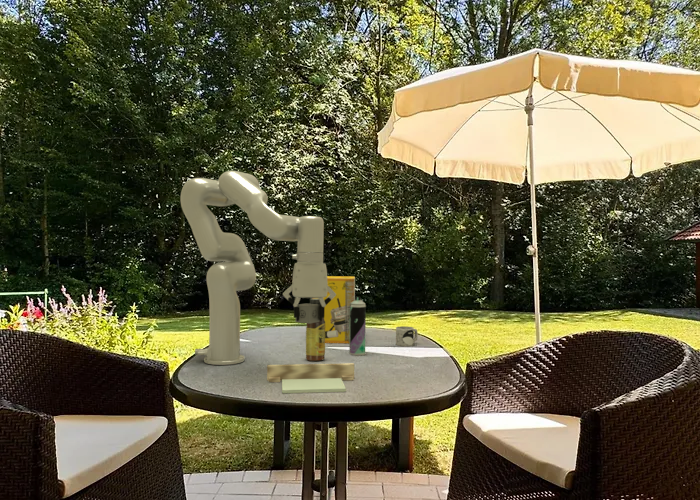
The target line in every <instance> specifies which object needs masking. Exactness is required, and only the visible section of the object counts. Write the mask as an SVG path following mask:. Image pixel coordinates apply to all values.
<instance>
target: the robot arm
mask: <svg viewBox="0 0 700 500" xmlns="http://www.w3.org/2000/svg"><path fill="white" fill-rule="evenodd" d="M268 199H269V198H268V194H267V193H266V192H265V191H264V189H262V188H261V187H260V182H259V180H258V179H257V177H256V176H254V175H252V174H250V173H247V172H242V171H237V170H227V171H224V172H223V173H222V174H221V175H220V176H219V177H218V179H217V180H215V179H211V178H206V177H194V178H191V179H188V180H187V181H186V182H184V185H183V186H182V189H181V191H180V206H181V210H182V213H183V214H184V215H185V218H186V219H187V222H188V224H189V226H190V228H191V231H192V234H193V237H194V239H195V241H196V245H197V247H198V250H199V252H200V254H201V256H202V257H203V259H205V260H206V261H209V262H217V263H214V264H213V265H211V266H210V267H209V268H208V270H207V272H206V285H207V290H208V298H209V305H208V306H209V310H208V311H209V326H208V327H209V334H208V335H209V337H208V339H209V340H208V341H209V346H207V347H205V348H195V349H194V355H195V356H198V357H199V356H205V357H204V359H203V362H204V363H205V364H209V365H214V366H228V365H236V364H240V363H243V362H244V361H245V360H246V359H245V358H246V357H245V355H242V354H240V353H241V351H240V350H241V303H240V298H239V296H238V294H237V292H239V291H246V290H249V289H251V288H252V287H253V286H254V285H255V283H256V279H257V273H256V269H255V266H254V264H253V261H252V259H251V258H252V257H251V255H250V253H249V251H248V248H247V247H246V244H245V242H244V241H243V239H242V238H241V237H240V236H239V235H238V234H236V233H232V232H224V231H223V230H222V229H221V227H220V225H219V223H218V219H217V217H216V216H215V214H214V213H213V212H212V211H211V210H210V209H209V208H208V206H215V207H228V206H233V205H237V206H238V207H239V208H240V209H242V211H244V212H245V213H246V214H247V217H248V220H249V222H250V223H251V224H252V226H254V228H255V229H257V231H259V232H260V233H262V234H263V235H265V237H267V238H268V239H271V240H273V241H284V242H297V251H296V253H295V254H292V255H291V256H292V258H291V259H292V260H296V262H295V263H294V265H293V270H292V271H293V272H292V282H291V283H292V284H291V285H290V286H289V287H288V288H287V289H286V290H285V291H284V292H283V293H282V296H283V297H284V298H285V299H286V300H287V301H288V302H289V303H290V304H291V305H292V306H293V318H294V319H295V318H296V317H297V318H296V321H298V320H299V307H297V306H298V305H299V303H300V301H301V298H302V299H312V298H319V301H320V303H321V304H320V308H319V320H320V321H322V318H324V312H325V306H326V305H327V304H328V303H329V302H330V301H331V300H332V299H333V298H334V297H335V296H336V293H335V292H334V291H333V290H332V289H331V288H330V287H329V286H328V285H327V276H328V269H327V265H326V263H324V236H325V235H324V226H325V225H324V224H325V223H324V219H323V218H322V217H320V216H315V215H313V216H312V215H303V216H300V217H299V216H294V215H286V214H279V213H277V212H276V211H274V210H273V209H272V208H270V207H269V206H268V205H267V204H268ZM327 291H328V292H329V293H330V295H329V296H328V297H327V298H326V299H325V300H324V299H323V297H326V296H327ZM291 292H292V296H293V297H294V298H292V296H291V295H290V294H291Z"/></svg>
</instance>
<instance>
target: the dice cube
mask: <svg viewBox="0 0 700 500" xmlns="http://www.w3.org/2000/svg"><path fill="white" fill-rule="evenodd" d="M297 307H299V320H298V321H296V318H297V317H296V318H294V319H295V323H301V324H307V323H308V324H310V323H315V322H319V321H320V320H319V308H320V305H318V304H310V303H300V304H299V303H298V306H297Z"/></svg>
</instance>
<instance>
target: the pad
mask: <svg viewBox="0 0 700 500" xmlns="http://www.w3.org/2000/svg"><path fill="white" fill-rule="evenodd" d="M281 390H282V391H281V394H304V393H305V394H306V393H307V394H309V393H310V394H311V393H312V394H313V393H344V392H347V388H346V385H345V384H344V381H343V380H342V379H341V378H325V379H282V380H281Z"/></svg>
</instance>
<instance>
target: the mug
mask: <svg viewBox="0 0 700 500" xmlns="http://www.w3.org/2000/svg"><path fill="white" fill-rule="evenodd" d="M418 336H419V335H418V329H417V328H414V327H412V326H397V327H395V346H397V347H405V348H406V347H407V348H408V347H413V346H414V343H415V342H416V341H418Z"/></svg>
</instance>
